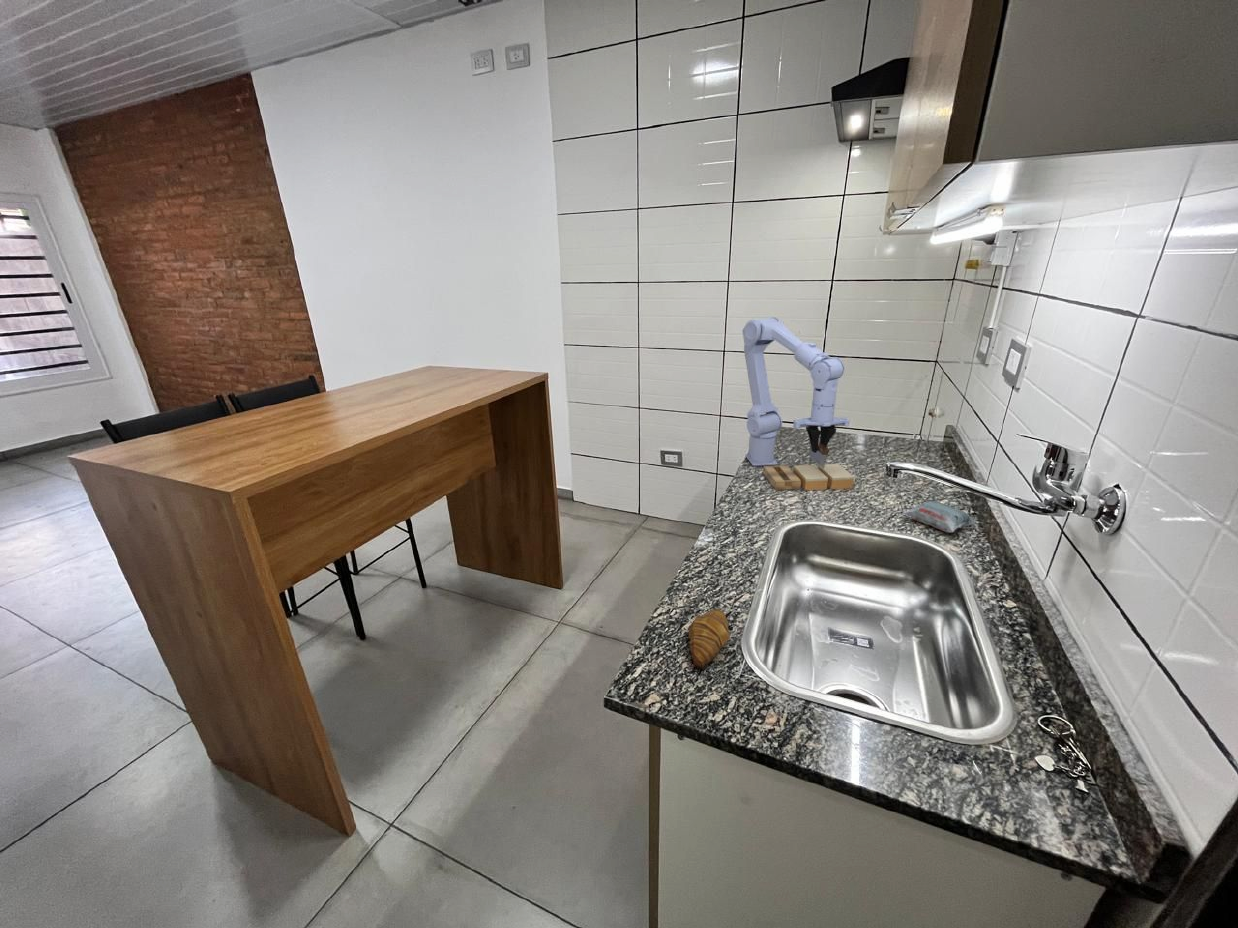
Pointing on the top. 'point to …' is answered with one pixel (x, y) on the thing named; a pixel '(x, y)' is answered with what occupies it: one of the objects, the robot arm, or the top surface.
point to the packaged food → (940, 516)
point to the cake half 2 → (837, 476)
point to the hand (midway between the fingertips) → (817, 451)
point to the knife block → (786, 473)
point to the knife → (819, 454)
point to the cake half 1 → (810, 477)
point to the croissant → (708, 637)
